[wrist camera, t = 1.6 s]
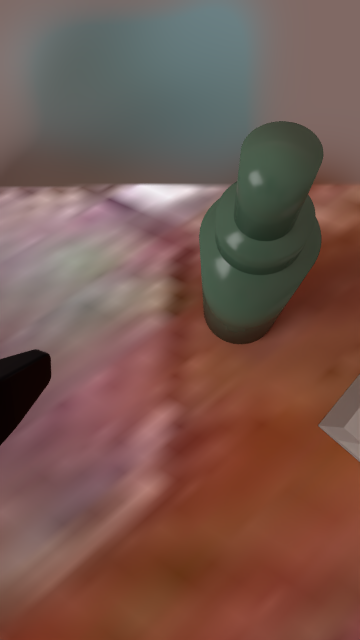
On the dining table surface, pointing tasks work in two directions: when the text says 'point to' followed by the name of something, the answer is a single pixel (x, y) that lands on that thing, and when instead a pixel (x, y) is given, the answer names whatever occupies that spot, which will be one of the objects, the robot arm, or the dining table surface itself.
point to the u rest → (346, 420)
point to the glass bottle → (261, 233)
